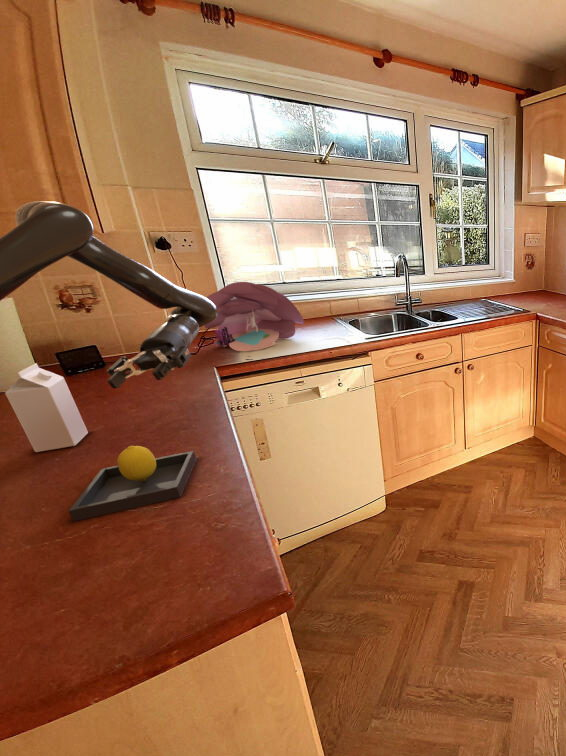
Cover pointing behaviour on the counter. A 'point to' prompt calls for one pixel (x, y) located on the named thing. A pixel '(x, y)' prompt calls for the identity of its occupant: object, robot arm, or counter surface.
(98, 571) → the counter surface
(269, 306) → the purple shell playset
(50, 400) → the milk carton
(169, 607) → the counter surface
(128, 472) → the lemon
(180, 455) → the dark grey tray
